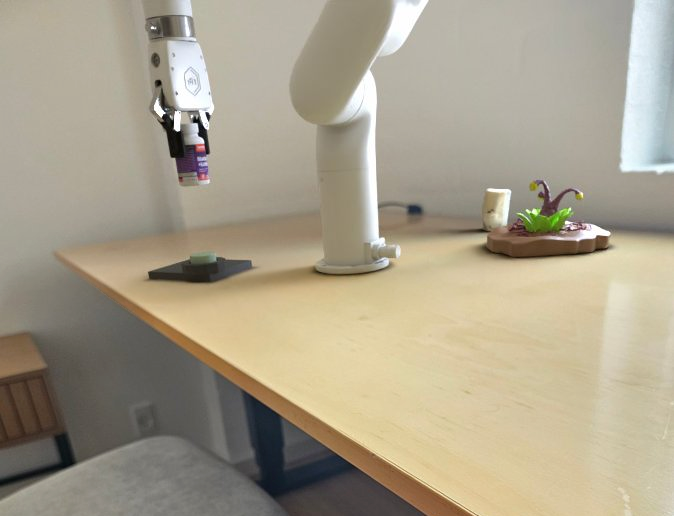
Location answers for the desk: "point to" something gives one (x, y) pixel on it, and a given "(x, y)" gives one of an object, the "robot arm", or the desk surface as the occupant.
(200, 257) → the tare button
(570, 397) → the desk surface
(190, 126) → the pill bottle
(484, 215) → the white speckled cylinder
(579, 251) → the plant
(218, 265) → the scale
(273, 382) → the desk surface
